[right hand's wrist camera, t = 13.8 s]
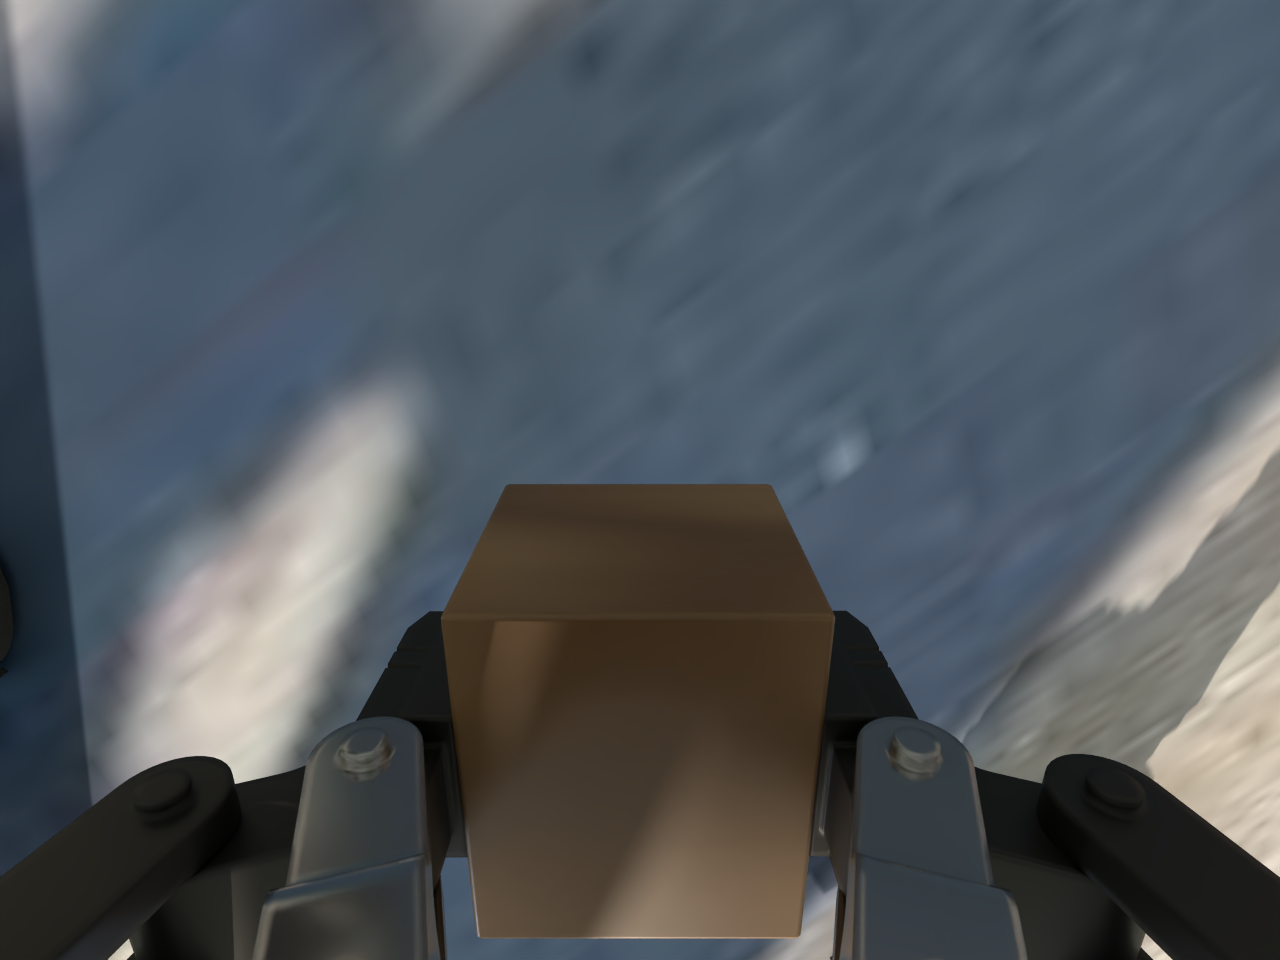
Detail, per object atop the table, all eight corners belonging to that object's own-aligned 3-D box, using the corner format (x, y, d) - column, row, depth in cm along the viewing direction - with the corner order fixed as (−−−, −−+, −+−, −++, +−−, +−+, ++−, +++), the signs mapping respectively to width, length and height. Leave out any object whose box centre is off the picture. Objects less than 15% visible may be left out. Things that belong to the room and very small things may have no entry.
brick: (522, 731, 14) (475, 941, 10) (504, 483, 12) (438, 615, 8) (755, 731, 14) (801, 941, 10) (772, 482, 12) (838, 615, 8)
